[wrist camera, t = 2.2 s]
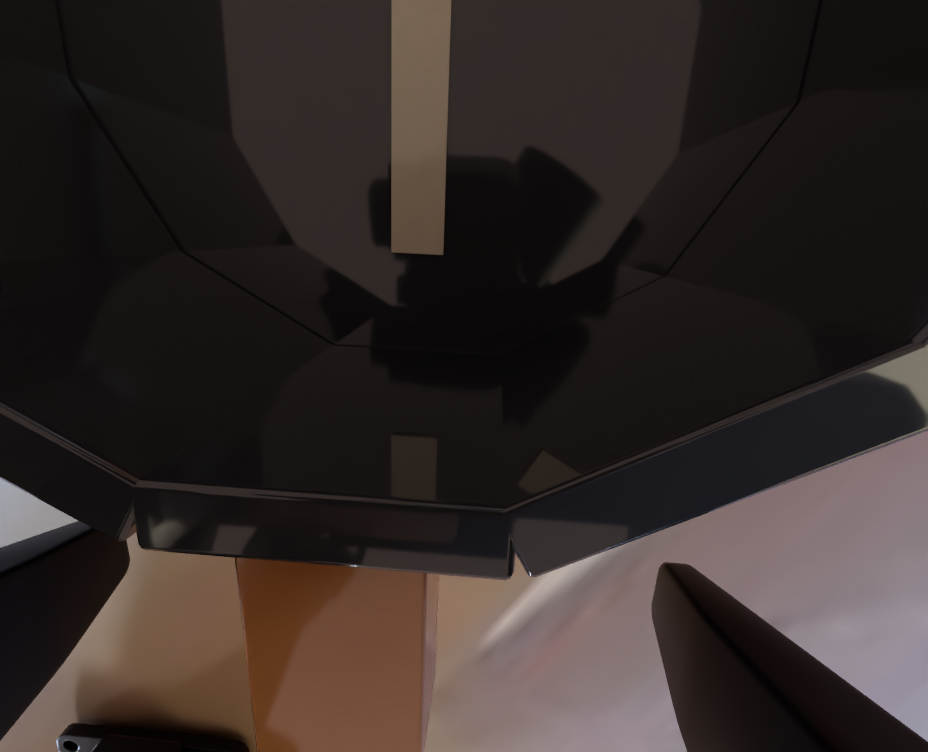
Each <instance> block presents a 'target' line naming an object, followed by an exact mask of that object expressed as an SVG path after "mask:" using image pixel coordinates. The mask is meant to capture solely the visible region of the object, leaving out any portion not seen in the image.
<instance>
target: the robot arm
mask: <svg viewBox="0 0 928 752" xmlns="http://www.w3.org/2000/svg"><path fill="white" fill-rule="evenodd" d="M129 563H130V556H129V551H128V546H127V540H123V541H117V540H114V539H112V538H110V537H108V536H106V535H105V534H103V533H101V532H99V531H97V530H95V529H93V528H92V527H90V526H88V525H86V524H84V523H82V522H80V521H77V522H74V523H71V524H68V525H65V526H63V527H60V528H57V529H54V530H51V531H48V532H45V533H42V534H39V535H36V536H33V537H31V538H28V539H25V540H22V541H19V542H16V543H13V544H10V545H7V546H4V547H2V548H0V741H1V739H2V738H3V737H4V736H5V734H6V733H7V732H8V731H9V730H10V728H11V727H12V726H13V725H14V723H15V722H16V721H17V720H18V719H19V717H20V716H21V715H22V714H23V712H24V711H25V710H26V709H27V708H28V706H29V705H30V704H31V703H32V701H33V700H34V699H35V698H36V696H37V695H38V694H39V693H40V692H41V690H42V689H43V688H44V687H45V685H46V684H47V683H48V682H49V681H50V679H51V678H52V677H53V676H54V674H55V673H56V672H57V670H58V669H59V668H60V667H61V665H62V664H63V663H64V661H65V660H66V659H67V657H68V656H69V655H70V653H71V652H72V650H73V649H74V648H75V646H76V645H77V643H78V642H79V640H80V639H81V638H82V636H83V635H84V633H85V632H86V630H87V629H88V628H89V626H90V625H91V623H92V622H93V620H94V619H95V617H96V616H97V615H98V613H99V612H100V610H101V609H102V607H103V606H104V604H105V603H106V602H107V600H108V599H109V597H110V596H111V594H112V593H113V592H114V590H115V589H116V587H117V586H118V584H119V583H120V581H121V580H122V579H123V577H124V576H125V574H126V572H127V570H128V567H129ZM652 619H653V623H654V628H655V632H656V636H657V640H658V644H659V648H660V653H661V657H662V661H663V665H664V669H665V673H666V678H667V682H668V686H669V690H670V694H671V698H672V703H673V707H674V710H675V714H676V718H677V722H678V725H679V728H680V731H681V734H682V737H683V740H684V743H685V746H686V749H687V752H928V742H927V741H926V740H924V739H923V738H922V737H920V736H919V735H918V734H916V733H915V732H914V731H912V730H911V729H910V728H908V727H907V726H906V725H904V724H903V723H902V722H900V721H899V720H898V719H896V718H895V717H894V716H892V715H891V714H889V713H888V712H887V711H885V710H884V709H883V708H881V707H880V706H879V705H877V704H876V703H875V702H873V701H872V700H871V699H869V698H868V697H867V696H865V695H864V694H863V693H861V692H860V691H859V690H857V689H856V688H855V687H853V686H852V685H850V684H849V683H848V682H846V681H845V680H844V679H842V678H841V677H840V676H838V675H837V674H836V673H834V672H833V671H832V670H830V669H829V668H828V667H826V666H825V665H824V664H822V663H821V662H820V661H818V660H817V659H816V658H814V657H813V656H812V655H810V654H809V653H807V652H806V651H805V650H803V649H802V648H801V647H799V646H798V645H797V644H795V643H794V642H793V641H791V640H790V639H789V638H787V637H786V636H785V635H783V634H782V633H781V632H779V631H778V630H777V629H775V628H774V627H773V626H771V625H770V624H768V623H767V622H766V621H764V620H763V619H762V618H760V617H759V616H758V615H756V614H755V613H754V612H752V611H751V610H750V609H748V608H747V607H746V606H744V605H743V604H742V603H740V602H739V601H738V600H736V599H735V598H734V597H732V596H731V595H729V594H728V593H727V592H725V591H724V590H723V589H721V588H720V587H719V586H717V585H716V584H715V583H713V582H712V581H711V580H709V579H708V578H707V577H705V576H704V575H703V574H701V573H700V572H699V571H697V570H696V569H695V568H693V567H692V566H690V565H688V564H681V563H669V562H665V563H663V564H662V565H661V566H660V568H659V571H658V576H657V581H656V586H655V591H654V595H653V600H652ZM56 742H57V748H58V751H59V752H250V751H249V748H248V747H247V746H246V744H244V743H243V742H241V741H238V740H234V739H225V738H215V737H206V736H196V735H186V734H177V733H167V732H157V731H148V730H138V729H128V728H119V727H109V726H99V725H90V724H80V723H73V724H71V725H69V726H68V727H67V728H66V729H65V730H64V732H63V733H62V734H61V735H60V736H59V737H58V739H57V740H56Z"/></svg>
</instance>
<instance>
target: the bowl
mask: <svg viewBox="0 0 928 752" xmlns="http://www.w3.org/2000/svg"><path fill="white" fill-rule="evenodd" d="M925 431H928V0H0V478H1V479H3V480H4V481H6V482H8V483H10V484H12V485H14V486H16V487H17V488H19V489H21V490H23V491H25V492H27V493H29V494H30V495H32V496H34V497H36V498H38V499H40V500H42V501H43V502H45V503H47V504H49V505H51V506H53V507H55V508H56V509H58V510H60V511H62V512H64V513H66V514H67V515H69V516H71V517H73V518H75V519H77V520H79V521H80V522H82V523H84V524H86V525H88V526H90V527H92V528H93V529H95V530H97V531H99V532H101V533H103V534H105V535H106V536H108V537H110V538H112V539H114V540H117V541H123V540H126V539H127V538H129V537H130V536H132V535H133V534H134V533H135V532H137V537H138V543H139V545H140V547H141V548H143V549H145V550H152V551H164V552H176V553H188V554H200V555H212V556H224V557H235V565H236V573H237V582H238V591H239V599H240V608H241V617H242V625H243V634H244V643H245V651H246V660H247V668H248V677H249V686H250V694H251V703H252V712H253V720H254V729H255V738H256V746H257V752H424V751H425V744H426V737H427V729H428V722H429V715H430V708H431V700H432V693H433V686H434V679H435V672H436V644H437V617H438V589H439V575H450V576H462V577H473V578H485V579H497V580H507V579H510V578H511V576H512V574H513V572H514V566H515V556H516V555H517V557H518V558H519V560H520V562H521V564H522V566H523V567H524V569H525V571H526V572H527V574H528V575H529V576H530V577H537V576H540V575H542V574H545V573H548V572H551V571H553V570H556V569H559V568H561V567H564V566H567V565H569V564H572V563H575V562H577V561H580V560H583V559H585V558H588V557H591V556H593V555H596V554H599V553H601V552H604V551H607V550H609V549H612V548H615V547H617V546H620V545H623V544H625V543H628V542H631V541H633V540H636V539H639V538H641V537H644V536H647V535H650V534H652V533H655V532H658V531H660V530H663V529H666V528H668V527H671V526H674V525H676V524H679V523H682V522H684V521H687V520H690V519H692V518H695V517H698V516H700V515H703V514H706V513H708V512H711V511H714V510H716V509H719V508H722V507H724V506H727V505H730V504H732V503H735V502H738V501H740V500H743V499H746V498H748V497H751V496H754V495H757V494H759V493H762V492H765V491H767V490H770V489H773V488H775V487H778V486H781V485H783V484H786V483H789V482H791V481H794V480H797V479H799V478H802V477H805V476H807V475H810V474H813V473H815V472H818V471H821V470H823V469H826V468H829V467H831V466H834V465H837V464H839V463H842V462H845V461H847V460H850V459H853V458H856V457H858V456H861V455H864V454H866V453H869V452H872V451H874V450H877V449H880V448H882V447H885V446H888V445H890V444H893V443H896V442H898V441H901V440H904V439H906V438H909V437H912V436H914V435H917V434H920V433H922V432H925Z"/></svg>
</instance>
